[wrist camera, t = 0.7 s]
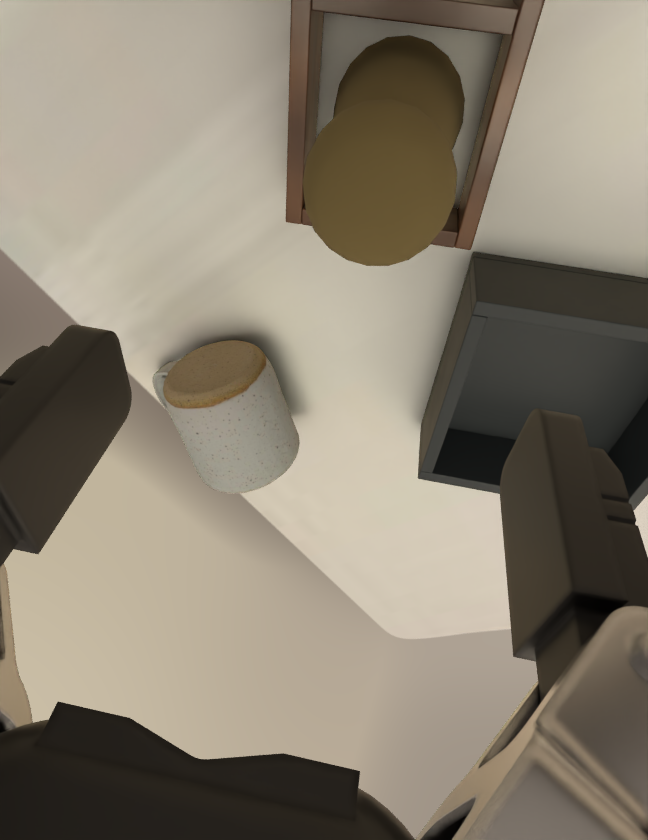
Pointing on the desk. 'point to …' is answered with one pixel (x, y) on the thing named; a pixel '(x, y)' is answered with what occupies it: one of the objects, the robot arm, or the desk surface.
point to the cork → (387, 154)
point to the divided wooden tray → (429, 5)
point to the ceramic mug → (230, 415)
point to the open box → (539, 369)
